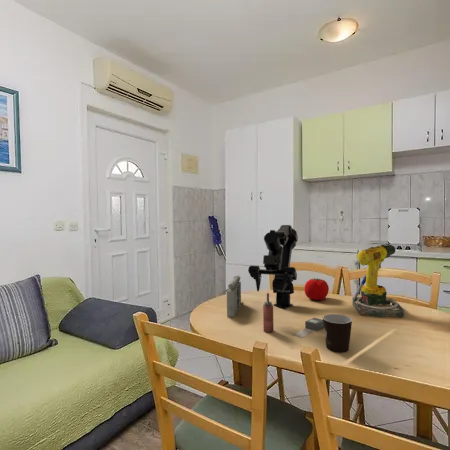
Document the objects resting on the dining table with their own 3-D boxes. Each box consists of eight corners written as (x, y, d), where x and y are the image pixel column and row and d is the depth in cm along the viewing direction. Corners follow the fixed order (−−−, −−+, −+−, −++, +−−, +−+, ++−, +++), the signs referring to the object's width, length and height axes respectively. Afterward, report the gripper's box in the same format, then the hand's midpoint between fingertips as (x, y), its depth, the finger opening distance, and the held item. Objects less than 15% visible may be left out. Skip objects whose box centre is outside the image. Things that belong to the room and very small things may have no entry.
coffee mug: (349, 359, 92) (349, 325, 91) (319, 352, 96) (319, 320, 96) (356, 344, 102) (356, 313, 101) (329, 339, 106) (328, 309, 106)
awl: (268, 330, 116) (267, 291, 115) (275, 332, 113) (274, 292, 112) (261, 332, 113) (260, 292, 113) (269, 335, 111) (268, 294, 110)
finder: (314, 323, 119) (314, 317, 119) (324, 326, 116) (324, 319, 116) (305, 327, 115) (305, 321, 115) (316, 331, 112) (315, 324, 112)
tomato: (314, 303, 147) (313, 281, 146) (299, 297, 158) (299, 277, 157) (334, 300, 151) (334, 279, 151) (319, 294, 162) (319, 275, 161)
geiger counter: (236, 284, 130) (244, 272, 154) (221, 284, 131) (231, 272, 156) (236, 317, 130) (244, 300, 155) (221, 316, 132) (232, 300, 156)
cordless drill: (409, 318, 124) (409, 248, 123) (358, 316, 128) (357, 248, 127) (394, 304, 142) (394, 243, 141) (350, 303, 146) (349, 244, 145)
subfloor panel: (291, 318, 127) (291, 316, 127) (327, 328, 116) (327, 326, 116) (267, 328, 117) (267, 326, 117) (304, 340, 106) (304, 338, 106)
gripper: (248, 246, 127) (240, 280, 118) (294, 246, 120) (290, 283, 111) (254, 260, 135) (248, 293, 126) (298, 262, 128) (295, 297, 119)
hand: (269, 291), depth 121 cm, fingers open, 9 cm apart
